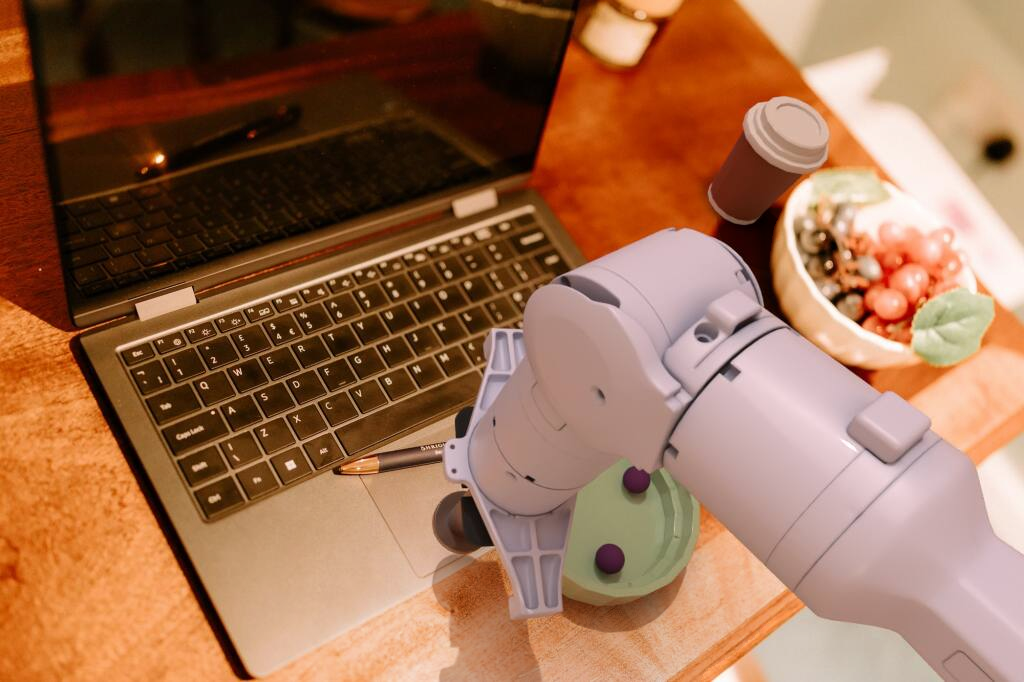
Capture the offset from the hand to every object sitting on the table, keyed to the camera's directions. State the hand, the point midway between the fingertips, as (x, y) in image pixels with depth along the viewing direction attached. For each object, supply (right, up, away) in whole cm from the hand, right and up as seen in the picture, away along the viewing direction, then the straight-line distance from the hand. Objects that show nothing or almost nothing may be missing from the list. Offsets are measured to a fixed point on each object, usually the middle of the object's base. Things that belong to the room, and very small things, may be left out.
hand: (479, 504), depth 43 cm
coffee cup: (+27, +25, +36) cm, 51 cm away
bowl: (+8, -4, +13) cm, 16 cm away
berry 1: (+9, -6, +10) cm, 15 cm away
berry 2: (+12, -1, +14) cm, 18 cm away
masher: (-1, -2, +4) cm, 5 cm away
